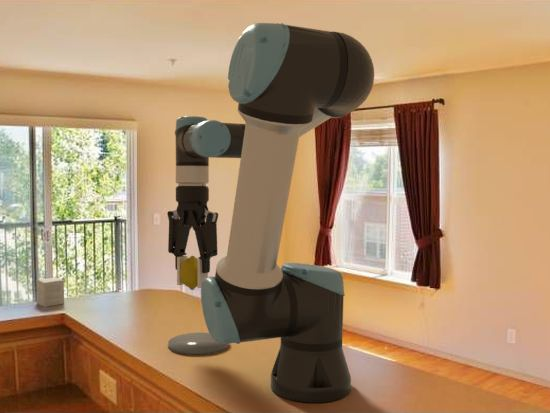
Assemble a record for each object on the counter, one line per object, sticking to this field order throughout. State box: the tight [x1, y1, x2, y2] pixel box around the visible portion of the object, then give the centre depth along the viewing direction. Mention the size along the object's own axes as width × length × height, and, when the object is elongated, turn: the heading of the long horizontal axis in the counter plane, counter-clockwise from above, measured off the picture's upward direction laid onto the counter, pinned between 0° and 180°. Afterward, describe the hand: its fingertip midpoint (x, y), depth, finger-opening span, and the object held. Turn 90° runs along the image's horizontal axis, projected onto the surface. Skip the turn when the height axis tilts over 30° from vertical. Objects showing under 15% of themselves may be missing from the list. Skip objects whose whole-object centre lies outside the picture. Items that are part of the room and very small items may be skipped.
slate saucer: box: [167, 332, 230, 356], centre depth 130 cm, size 14×14×1 cm
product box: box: [36, 277, 65, 308], centre depth 168 cm, size 6×6×7 cm
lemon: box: [180, 255, 199, 291], centre depth 129 cm, size 6×6×8 cm
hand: (192, 285), depth 129 cm, fingers closed on lemon, 5 cm apart
